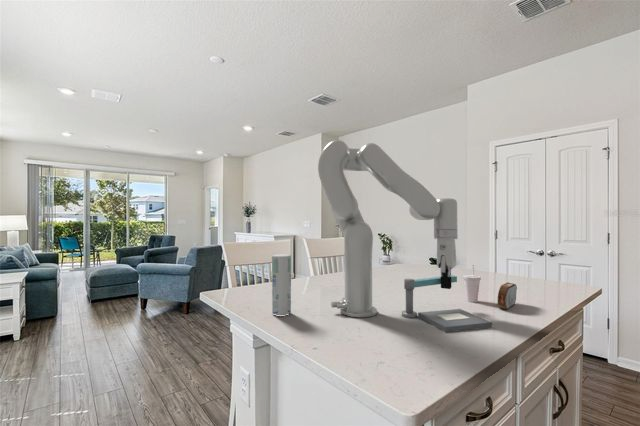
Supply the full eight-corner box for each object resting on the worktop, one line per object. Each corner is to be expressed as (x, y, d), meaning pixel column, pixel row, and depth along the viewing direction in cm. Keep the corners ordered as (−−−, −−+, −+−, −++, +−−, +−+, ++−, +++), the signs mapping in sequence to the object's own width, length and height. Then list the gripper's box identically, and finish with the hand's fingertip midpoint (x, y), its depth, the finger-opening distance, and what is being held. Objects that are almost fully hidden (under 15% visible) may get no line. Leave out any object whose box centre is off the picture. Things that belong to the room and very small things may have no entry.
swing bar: (408, 290, 102) (408, 280, 102) (402, 288, 105) (402, 279, 105) (457, 283, 112) (457, 275, 112) (450, 281, 115) (450, 273, 115)
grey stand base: (431, 333, 88) (431, 302, 88) (399, 314, 106) (398, 287, 106) (491, 327, 93) (491, 297, 93) (451, 309, 111) (451, 284, 111)
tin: (509, 302, 120) (508, 280, 120) (518, 303, 118) (518, 281, 118) (496, 310, 110) (496, 286, 110) (506, 312, 108) (506, 287, 108)
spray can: (293, 315, 104) (292, 255, 105) (273, 317, 103) (273, 256, 103) (289, 310, 111) (289, 253, 111) (270, 312, 109) (270, 254, 109)
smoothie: (484, 303, 119) (484, 266, 119) (467, 303, 119) (467, 266, 119) (476, 298, 125) (475, 263, 125) (460, 298, 125) (459, 263, 125)
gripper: (453, 236, 99) (454, 294, 99) (460, 233, 112) (460, 285, 111) (429, 235, 103) (429, 291, 103) (438, 233, 116) (438, 283, 115)
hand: (446, 287), depth 107 cm, fingers closed
